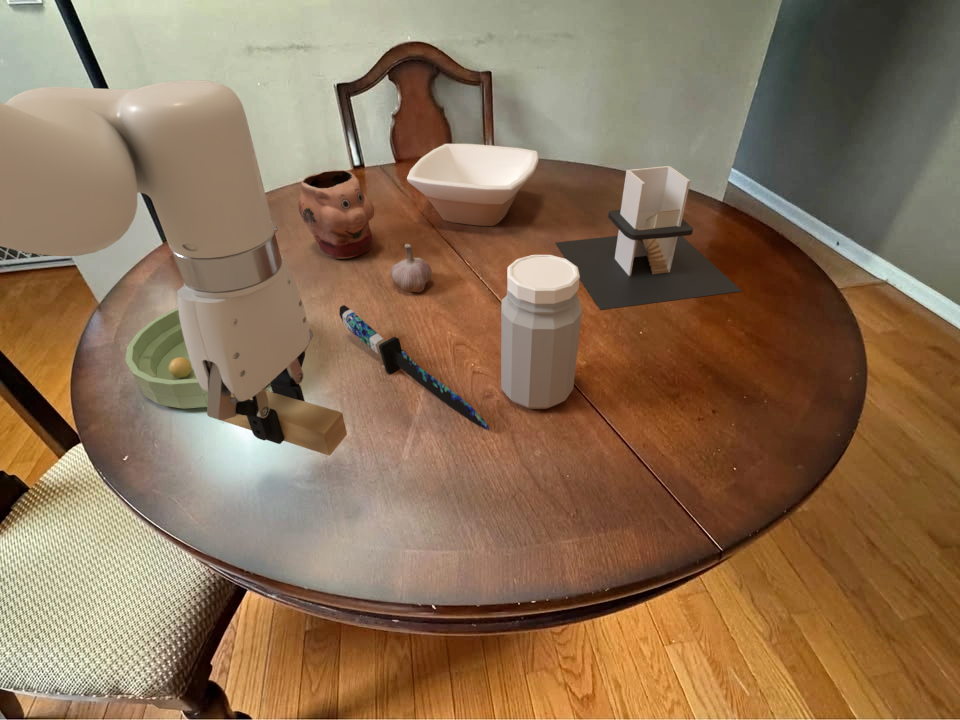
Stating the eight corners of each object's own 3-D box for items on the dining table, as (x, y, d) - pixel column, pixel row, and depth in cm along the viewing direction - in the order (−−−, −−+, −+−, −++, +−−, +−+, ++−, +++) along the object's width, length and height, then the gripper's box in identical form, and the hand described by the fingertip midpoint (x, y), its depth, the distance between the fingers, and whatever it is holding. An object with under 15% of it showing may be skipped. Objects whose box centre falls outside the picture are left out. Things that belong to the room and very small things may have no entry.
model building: (600, 309, 89) (613, 213, 79) (554, 242, 108) (560, 157, 98) (742, 291, 93) (772, 196, 82) (674, 229, 111) (692, 145, 101)
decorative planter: (285, 242, 110) (267, 172, 102) (336, 222, 117) (323, 155, 109) (347, 274, 100) (332, 200, 91) (398, 250, 107) (389, 179, 98)
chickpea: (173, 384, 76) (165, 368, 74) (173, 372, 78) (165, 356, 76) (195, 378, 76) (188, 362, 75) (194, 366, 78) (187, 351, 77)
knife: (339, 329, 84) (335, 305, 81) (356, 321, 86) (353, 297, 83) (472, 454, 68) (474, 431, 65) (490, 441, 70) (492, 418, 67)
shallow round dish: (137, 431, 70) (120, 401, 67) (144, 342, 85) (130, 315, 82) (303, 386, 76) (294, 357, 73) (282, 310, 91) (274, 284, 88)
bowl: (517, 244, 108) (518, 191, 101) (401, 229, 114) (395, 178, 107) (544, 197, 125) (547, 149, 119) (442, 187, 131) (439, 141, 125)
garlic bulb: (425, 298, 93) (421, 255, 88) (384, 294, 94) (377, 252, 89) (437, 276, 99) (434, 234, 94) (398, 272, 100) (393, 231, 95)
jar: (588, 389, 74) (604, 270, 63) (539, 425, 69) (547, 303, 58) (533, 356, 80) (539, 242, 69) (484, 388, 75) (482, 270, 64)
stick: (220, 420, 56) (211, 398, 54) (240, 401, 58) (232, 379, 56) (329, 456, 52) (324, 433, 50) (347, 434, 54) (342, 412, 52)
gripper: (259, 211, 51) (300, 368, 62) (104, 300, 39) (190, 474, 50) (329, 224, 48) (358, 384, 60) (188, 322, 36) (258, 499, 48)
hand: (281, 424), depth 55 cm, fingers closed on stick, 3 cm apart
